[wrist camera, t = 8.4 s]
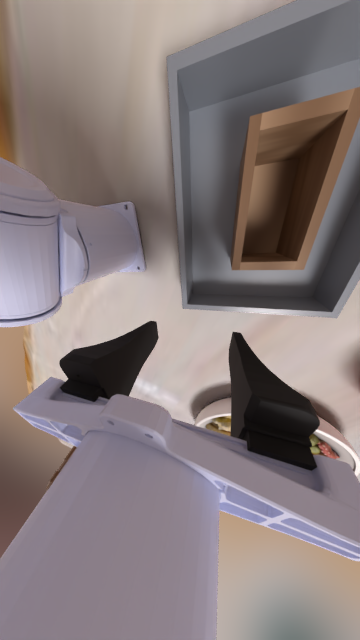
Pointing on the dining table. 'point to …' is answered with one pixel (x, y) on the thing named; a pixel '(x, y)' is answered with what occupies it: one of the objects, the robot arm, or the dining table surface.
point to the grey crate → (227, 147)
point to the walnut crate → (290, 179)
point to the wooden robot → (61, 467)
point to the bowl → (322, 440)
